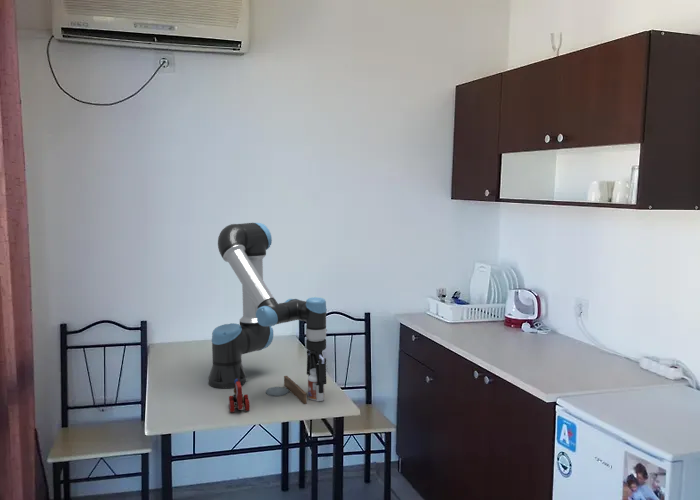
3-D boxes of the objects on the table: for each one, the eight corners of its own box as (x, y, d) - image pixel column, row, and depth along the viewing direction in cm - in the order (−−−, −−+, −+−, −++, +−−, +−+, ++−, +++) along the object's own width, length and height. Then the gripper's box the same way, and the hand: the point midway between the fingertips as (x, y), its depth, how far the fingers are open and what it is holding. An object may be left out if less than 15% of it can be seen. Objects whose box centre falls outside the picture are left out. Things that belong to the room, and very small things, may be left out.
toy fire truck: (247, 401, 231) (247, 374, 229) (250, 413, 219) (249, 385, 217) (228, 403, 229) (228, 376, 228) (230, 415, 217) (229, 387, 216)
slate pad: (269, 397, 235) (269, 396, 234) (262, 390, 243) (262, 388, 243) (292, 394, 238) (292, 392, 238) (284, 386, 246) (284, 385, 246)
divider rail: (303, 404, 228) (303, 393, 228) (284, 385, 248) (284, 376, 247) (306, 403, 229) (306, 393, 228) (286, 385, 248) (286, 375, 248)
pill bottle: (307, 395, 237) (307, 367, 236) (323, 394, 238) (323, 367, 237) (308, 401, 231) (308, 372, 230) (324, 400, 232) (324, 372, 231)
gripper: (335, 344, 225) (335, 404, 227) (315, 331, 242) (315, 388, 245) (316, 346, 221) (317, 407, 224) (297, 333, 239) (298, 390, 242)
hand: (316, 397), depth 235 cm, fingers open, 7 cm apart
